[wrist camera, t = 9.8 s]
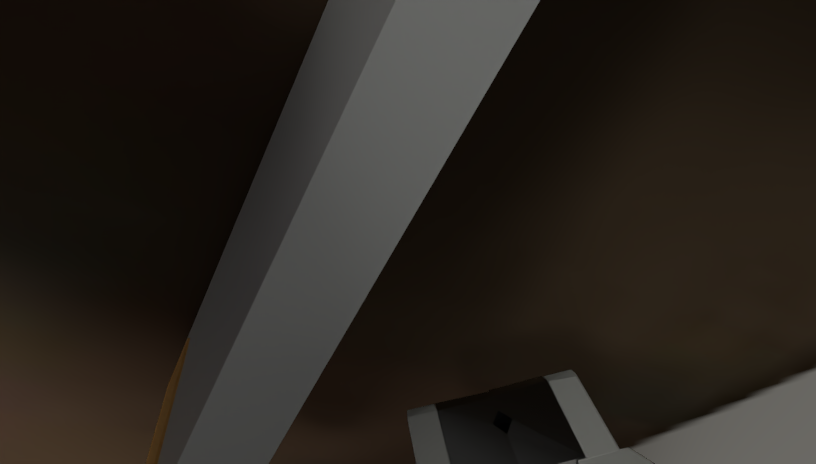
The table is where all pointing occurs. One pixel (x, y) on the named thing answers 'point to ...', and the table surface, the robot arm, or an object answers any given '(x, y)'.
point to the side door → (327, 213)
